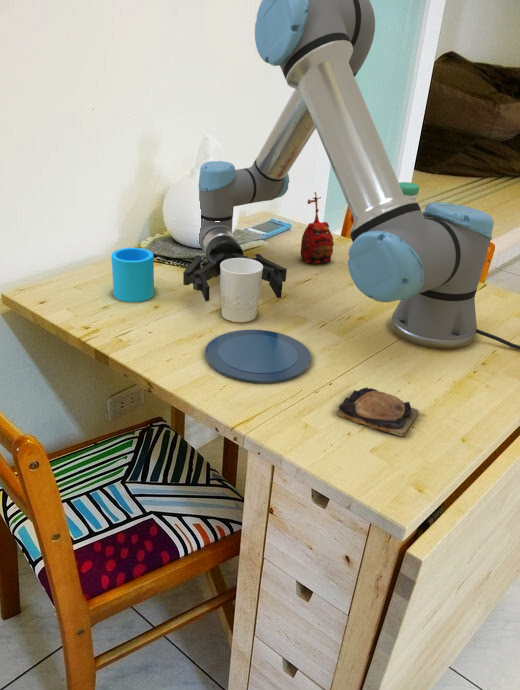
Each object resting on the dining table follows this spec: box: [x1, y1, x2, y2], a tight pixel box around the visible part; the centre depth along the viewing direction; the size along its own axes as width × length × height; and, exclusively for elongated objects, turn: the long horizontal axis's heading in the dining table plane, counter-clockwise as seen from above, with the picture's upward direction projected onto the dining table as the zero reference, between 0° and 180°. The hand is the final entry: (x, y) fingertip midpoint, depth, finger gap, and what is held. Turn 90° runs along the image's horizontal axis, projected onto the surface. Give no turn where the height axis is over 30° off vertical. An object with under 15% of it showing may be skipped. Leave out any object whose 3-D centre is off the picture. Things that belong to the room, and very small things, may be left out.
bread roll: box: [336, 386, 420, 438], centre depth 96 cm, size 11×8×4 cm
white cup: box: [219, 258, 263, 323], centre depth 122 cm, size 8×8×10 cm
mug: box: [110, 247, 155, 303], centre depth 130 cm, size 12×8×8 cm
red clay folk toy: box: [300, 191, 335, 265], centre depth 147 cm, size 8×7×15 cm
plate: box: [204, 329, 312, 385], centre depth 111 cm, size 18×18×1 cm
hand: (244, 292), depth 119 cm, fingers open, 13 cm apart
